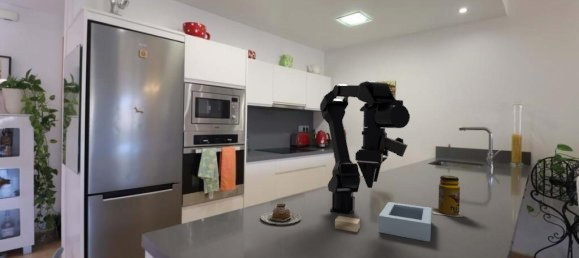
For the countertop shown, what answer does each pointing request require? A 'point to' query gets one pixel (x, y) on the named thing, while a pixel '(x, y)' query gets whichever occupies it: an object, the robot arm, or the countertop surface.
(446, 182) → the condiment
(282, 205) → the pastry
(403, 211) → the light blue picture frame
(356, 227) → the block
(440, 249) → the countertop surface
